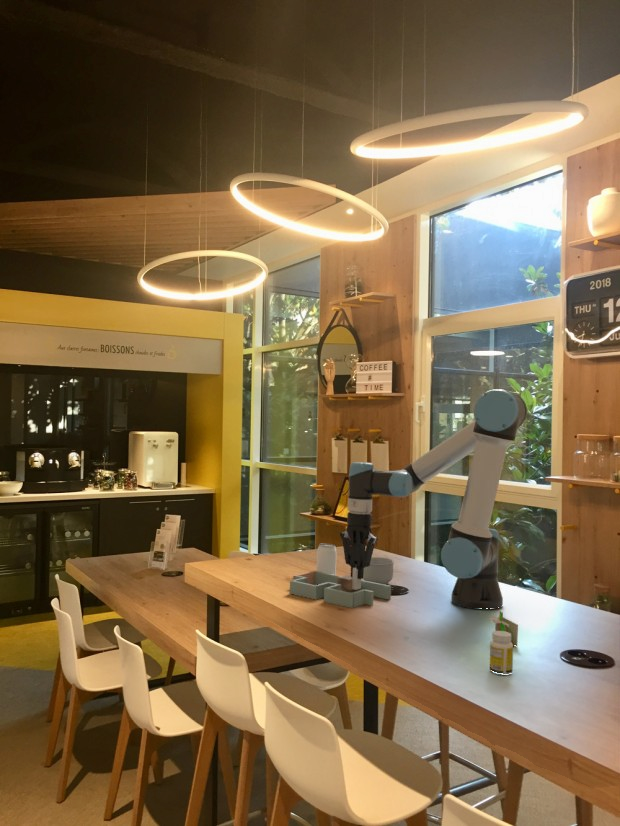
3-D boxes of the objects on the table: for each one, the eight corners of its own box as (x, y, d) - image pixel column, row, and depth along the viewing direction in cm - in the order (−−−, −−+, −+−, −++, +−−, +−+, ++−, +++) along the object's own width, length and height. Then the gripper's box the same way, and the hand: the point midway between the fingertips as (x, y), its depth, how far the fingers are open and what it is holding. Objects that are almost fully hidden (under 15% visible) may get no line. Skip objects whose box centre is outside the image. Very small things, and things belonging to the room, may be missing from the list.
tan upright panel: (502, 649, 168) (503, 616, 168) (488, 641, 175) (489, 609, 175) (517, 649, 169) (518, 616, 169) (502, 640, 176) (503, 608, 176)
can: (335, 579, 237) (337, 543, 237) (334, 583, 231) (336, 547, 231) (316, 578, 238) (318, 542, 238) (315, 582, 231) (316, 546, 231)
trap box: (390, 599, 212) (391, 585, 212) (359, 609, 198) (359, 595, 199) (313, 582, 230) (313, 570, 230) (279, 591, 216) (280, 578, 216)
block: (359, 593, 218) (360, 577, 218) (350, 596, 214) (350, 580, 214) (346, 590, 221) (347, 575, 221) (337, 593, 217) (337, 577, 217)
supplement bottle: (508, 668, 154) (509, 630, 154) (515, 676, 149) (516, 637, 149) (486, 668, 153) (488, 629, 154) (493, 675, 149) (494, 636, 149)
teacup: (398, 586, 230) (399, 562, 230) (369, 588, 226) (370, 563, 226) (379, 577, 243) (380, 554, 243) (351, 579, 239) (351, 555, 239)
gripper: (335, 510, 217) (332, 586, 216) (370, 515, 209) (366, 594, 208) (349, 509, 223) (346, 583, 222) (384, 513, 214) (380, 590, 214)
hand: (356, 588), depth 215 cm, fingers closed
